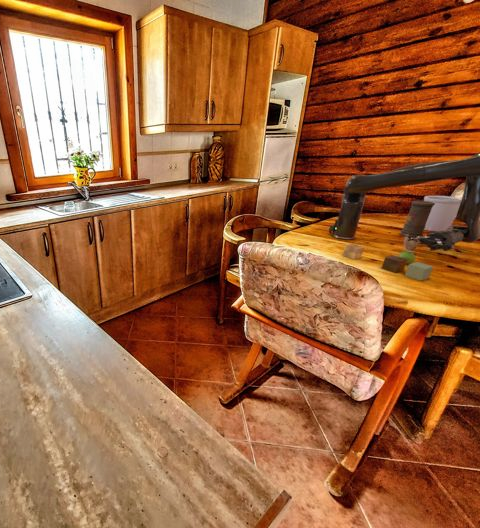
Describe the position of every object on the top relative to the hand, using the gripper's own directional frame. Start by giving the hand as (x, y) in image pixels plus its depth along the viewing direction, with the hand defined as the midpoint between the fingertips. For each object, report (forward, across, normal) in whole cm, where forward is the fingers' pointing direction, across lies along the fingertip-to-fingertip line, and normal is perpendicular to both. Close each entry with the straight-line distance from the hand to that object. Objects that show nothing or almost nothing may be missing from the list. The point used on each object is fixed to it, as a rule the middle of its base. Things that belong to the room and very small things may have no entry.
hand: (418, 245), depth 118 cm
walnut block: (+18, +2, +7) cm, 19 cm away
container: (-38, -20, +7) cm, 44 cm away
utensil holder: (-61, -22, +7) cm, 65 cm away
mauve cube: (+18, -14, +7) cm, 24 cm away
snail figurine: (+7, 0, +7) cm, 10 cm away
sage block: (+18, +10, +7) cm, 21 cm away
